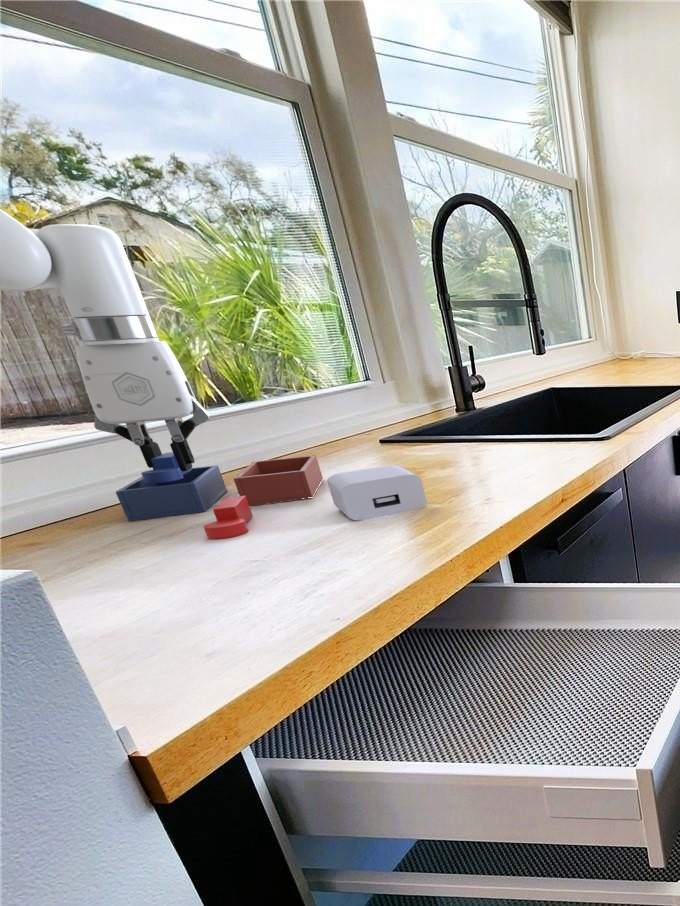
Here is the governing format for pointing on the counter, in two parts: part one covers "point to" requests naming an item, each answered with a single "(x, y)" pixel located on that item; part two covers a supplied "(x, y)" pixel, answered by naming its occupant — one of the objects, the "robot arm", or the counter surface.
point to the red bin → (279, 480)
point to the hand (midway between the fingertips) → (174, 469)
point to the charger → (376, 492)
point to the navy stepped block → (164, 470)
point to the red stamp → (229, 518)
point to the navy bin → (173, 495)
